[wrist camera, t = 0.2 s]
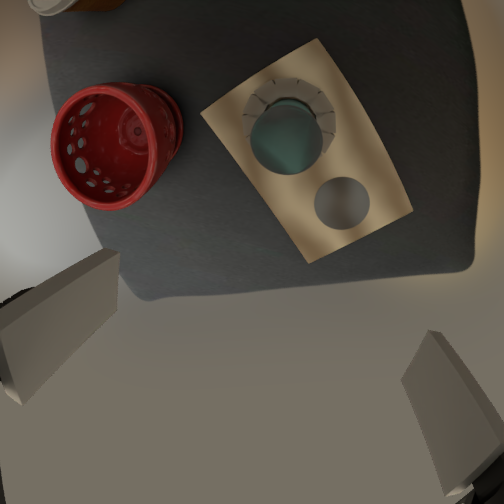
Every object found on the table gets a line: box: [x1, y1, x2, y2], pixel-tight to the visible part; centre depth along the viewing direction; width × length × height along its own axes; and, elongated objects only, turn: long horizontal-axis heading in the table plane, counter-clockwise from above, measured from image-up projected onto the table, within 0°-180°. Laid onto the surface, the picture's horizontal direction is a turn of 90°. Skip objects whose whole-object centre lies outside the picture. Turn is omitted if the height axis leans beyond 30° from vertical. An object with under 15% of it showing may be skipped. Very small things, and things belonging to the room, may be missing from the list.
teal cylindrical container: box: [250, 98, 323, 175], centre depth 26 cm, size 5×5×13 cm
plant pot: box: [51, 82, 183, 211], centre depth 30 cm, size 13×13×12 cm
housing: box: [200, 38, 413, 264], centre depth 32 cm, size 16×24×4 cm, turn 35°
